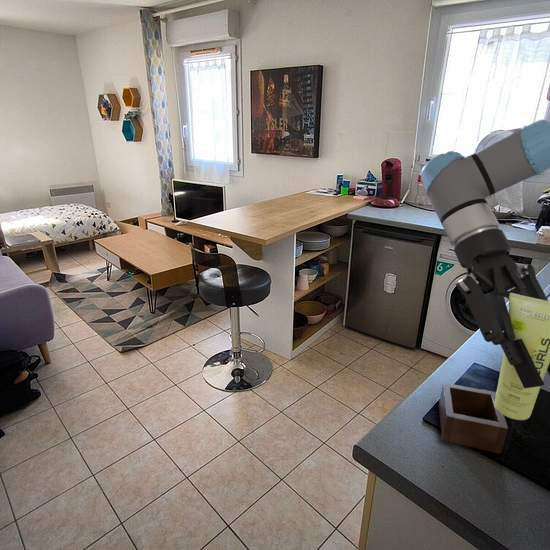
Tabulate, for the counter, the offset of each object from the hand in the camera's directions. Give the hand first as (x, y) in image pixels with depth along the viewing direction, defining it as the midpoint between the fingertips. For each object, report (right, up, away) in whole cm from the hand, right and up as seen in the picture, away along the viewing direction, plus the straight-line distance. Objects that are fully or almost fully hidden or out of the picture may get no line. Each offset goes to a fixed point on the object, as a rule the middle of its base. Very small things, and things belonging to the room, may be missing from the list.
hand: (548, 382), depth 51 cm
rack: (-1, -15, +20) cm, 25 cm away
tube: (-1, -6, +7) cm, 9 cm away
